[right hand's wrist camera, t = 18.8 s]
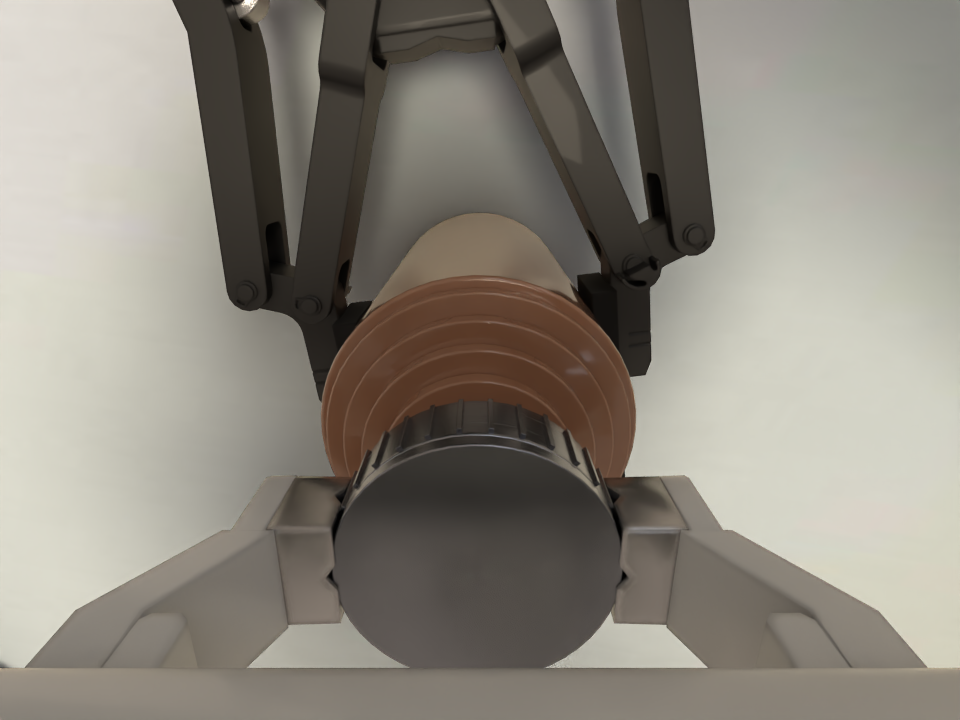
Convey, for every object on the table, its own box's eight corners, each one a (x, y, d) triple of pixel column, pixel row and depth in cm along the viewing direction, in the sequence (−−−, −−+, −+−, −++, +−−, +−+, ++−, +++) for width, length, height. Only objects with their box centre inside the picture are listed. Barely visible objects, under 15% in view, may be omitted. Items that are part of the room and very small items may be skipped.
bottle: (439, 395, 26) (378, 758, 11) (368, 253, 24) (157, 448, 8) (584, 337, 25) (754, 642, 10) (525, 184, 23) (621, 255, 7)
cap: (642, 564, 10) (668, 630, 9) (420, 643, 11) (411, 716, 10) (548, 353, 9) (561, 391, 8) (299, 458, 10) (269, 511, 8)
